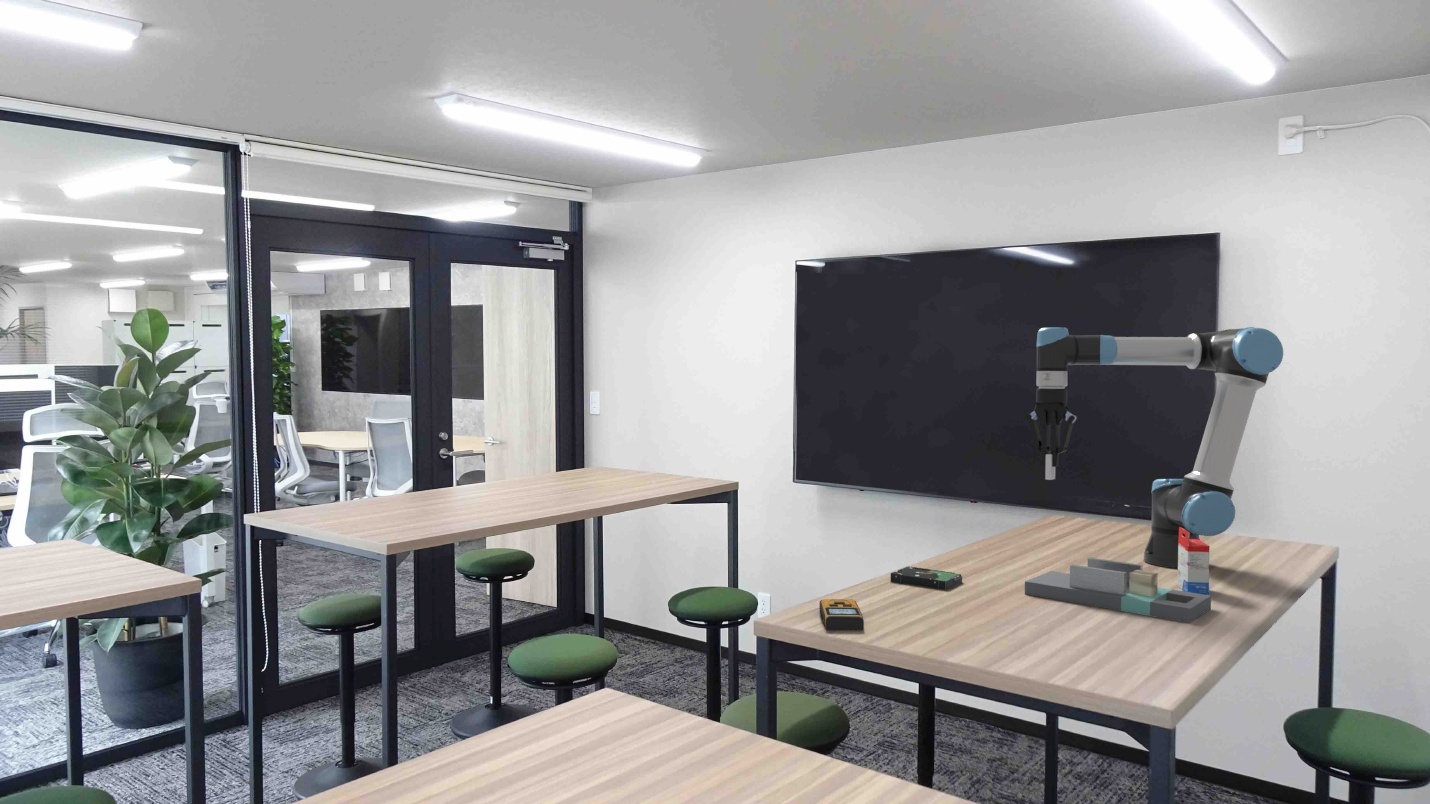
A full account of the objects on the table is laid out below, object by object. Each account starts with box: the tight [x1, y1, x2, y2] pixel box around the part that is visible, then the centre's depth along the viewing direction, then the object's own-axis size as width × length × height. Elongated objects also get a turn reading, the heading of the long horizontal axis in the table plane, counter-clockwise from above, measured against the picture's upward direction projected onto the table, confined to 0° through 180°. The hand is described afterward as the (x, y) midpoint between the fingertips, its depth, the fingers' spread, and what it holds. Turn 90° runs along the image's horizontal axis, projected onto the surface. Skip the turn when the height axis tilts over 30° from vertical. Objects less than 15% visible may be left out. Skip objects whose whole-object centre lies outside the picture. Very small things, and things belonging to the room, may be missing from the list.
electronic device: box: [819, 598, 865, 631], centre depth 196 cm, size 8×16×3 cm, turn 178°
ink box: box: [1177, 527, 1210, 595], centre depth 221 cm, size 8×5×15 cm, turn 168°
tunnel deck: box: [1024, 557, 1212, 624], centre depth 211 cm, size 15×36×8 cm, turn 47°
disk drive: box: [890, 566, 963, 591], centre depth 231 cm, size 10×3×15 cm
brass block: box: [1129, 570, 1159, 596], centre depth 207 cm, size 4×4×4 cm
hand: (1050, 479), depth 239 cm, fingers closed
